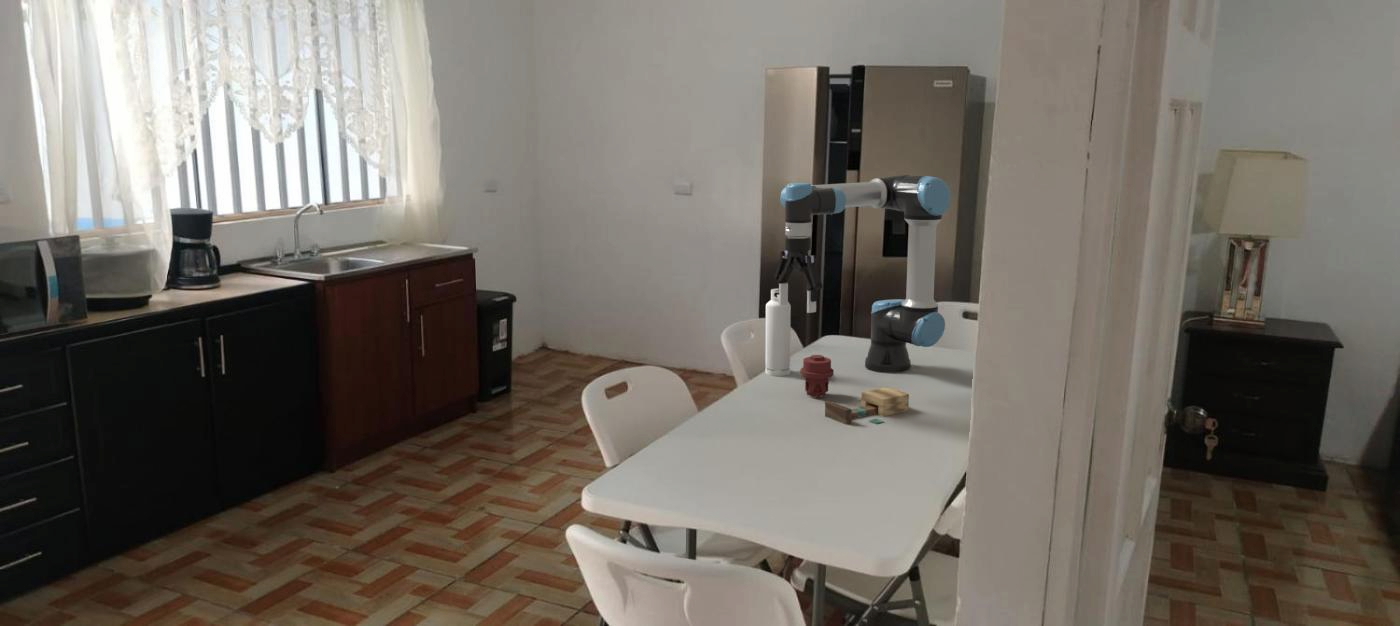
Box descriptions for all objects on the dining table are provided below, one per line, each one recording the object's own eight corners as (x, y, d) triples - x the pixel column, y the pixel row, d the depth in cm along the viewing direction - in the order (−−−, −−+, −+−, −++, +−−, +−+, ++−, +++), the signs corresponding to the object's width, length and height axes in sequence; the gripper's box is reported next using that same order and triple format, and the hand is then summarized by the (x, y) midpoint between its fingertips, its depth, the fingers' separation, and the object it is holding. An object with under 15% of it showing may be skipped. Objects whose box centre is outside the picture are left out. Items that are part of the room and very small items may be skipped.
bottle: (789, 369, 326) (790, 287, 320) (789, 376, 318) (790, 292, 312) (765, 369, 327) (766, 287, 321) (764, 375, 319) (765, 291, 313)
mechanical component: (831, 390, 301) (834, 400, 291) (798, 391, 301) (801, 400, 291) (831, 352, 298) (835, 360, 288) (799, 352, 298) (801, 360, 289)
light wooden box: (886, 403, 288) (887, 386, 287) (908, 410, 280) (908, 394, 279) (861, 408, 283) (861, 392, 282) (882, 416, 275) (882, 399, 274)
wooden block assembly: (879, 398, 292) (879, 385, 291) (922, 413, 277) (922, 400, 276) (815, 412, 279) (815, 398, 279) (856, 428, 264) (856, 414, 264)
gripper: (762, 233, 290) (762, 303, 294) (814, 242, 269) (813, 317, 273) (782, 231, 294) (782, 300, 298) (835, 240, 273) (834, 314, 277)
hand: (797, 308), depth 286 cm, fingers open, 13 cm apart
